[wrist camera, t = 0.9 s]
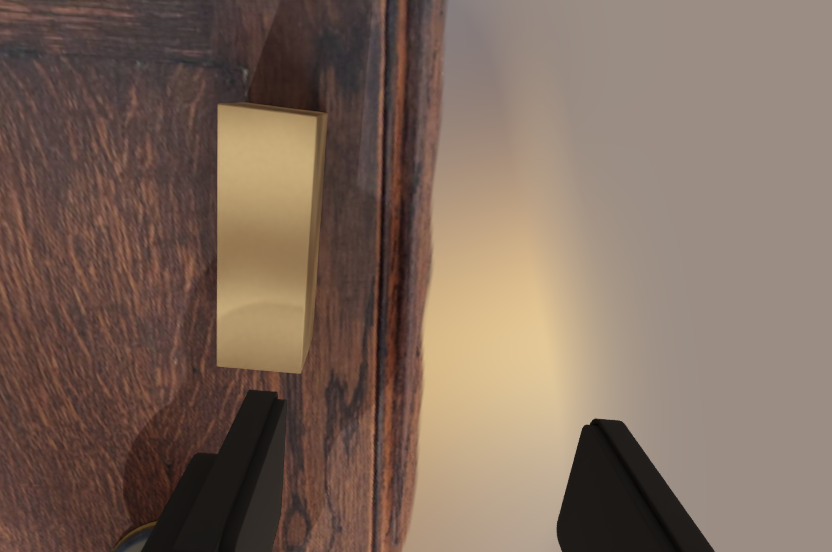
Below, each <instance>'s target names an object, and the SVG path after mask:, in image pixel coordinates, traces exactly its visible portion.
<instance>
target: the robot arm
mask: <svg viewBox="0 0 832 552" xmlns="http://www.w3.org/2000/svg"><path fill="white" fill-rule="evenodd" d="M286 413H287V401H286V400H281V399H278V393H277V392H271V391H259V390H249V391H248V393H247V395H246V397H245V399H244V401H243V403H242V405H241V407H240V409H239V412H238V414H237V416H236V418H235V420H234V422H233V424H232V426H231V428H230V430H229V432H228V434H227V436H226V439H225V441H224V443H223V445H222V447H221V449H220V451H219V453H218V454H209V453H197V454H195V455H194V456H193V458H192V459H191V461H190V463H189V464H188V466H187V468H186V470H185V472H184V473H183V475H182V477H181V479H180V481H179V483H178V484H177V486H176V488H175V490H174V492H173V494H172V495H171V497H170V499H169V501H168V503H167V504H166V506H165V508H164V510H163V512H162V514H161V515H160V517H159V519H158V521H157V523H156V525H155V526H154V528H153V530H152V532H151V534H150V536H149V537H148V539H147V541H146V543H145V545H144V546H143V548H142V550H141V552H271V551H272V547H273V543H274V539H275V536H276V532H277V528H278V524H279V520H280V514H281V506H282V489H283V470H284V451H285V432H286ZM557 538H558V542H559V544H560V547H561V550H562V552H714V550H713V548H712V547H711V546H710V544H709V543H708V541H707V540H706V538H705V537H704V536H703V534H702V533H701V531H700V530H699V529H698V527H697V526H696V524H695V523H694V522H693V520H692V519H691V517H690V516H689V514H688V513H687V512H686V510H685V509H684V507H683V506H682V505H681V503H680V502H679V500H678V499H677V497H676V496H675V495H674V493H673V492H672V490H671V489H670V488H669V486H668V485H667V483H666V482H665V480H664V479H663V478H662V476H661V475H660V473H659V472H658V471H657V469H656V468H655V466H654V465H653V463H652V462H651V461H650V459H649V458H648V456H647V455H646V454H645V452H644V451H643V449H642V448H641V447H640V445H639V444H638V442H637V441H636V440H635V438H634V437H633V435H632V434H631V433H630V431H629V430H628V428H627V427H626V425H625V424H624V423H623V422H622V421H618V420H606V419H594V420H592V422H591V423H590V425H585V426H584V427H583V428H582V431H581V435H580V438H579V443H578V446H577V450H576V454H575V457H574V462H573V465H572V469H571V473H570V476H569V480H568V484H567V488H566V491H565V495H564V499H563V502H562V507H561V510H560V514H559V517H558V521H557Z"/></svg>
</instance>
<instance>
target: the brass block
mask: <svg viewBox="0 0 832 552" xmlns="http://www.w3.org/2000/svg"><path fill="white" fill-rule="evenodd" d="M327 121H328V113H325V112H317V111H309V110H301V109H293V108H286V107H278V106H270V105H262V104H254V103H247V102H240V103H222V104H218V150H217V366H218V367H229V368H241V369H252V370H264V371H275V372H287V373H298V374H300V373H301V372H302V369H303V366H304V363H305V360H306V357H307V354H308V351H309V347H310V344H311V341H312V338H313V327H314V312H315V297H316V283H317V268H318V253H319V239H320V224H321V209H322V195H323V180H324V165H325V151H326V136H327Z"/></svg>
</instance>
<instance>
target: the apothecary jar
mask: <svg viewBox="0 0 832 552" xmlns="http://www.w3.org/2000/svg"><path fill="white" fill-rule="evenodd" d="M156 523H157V521H155V522H151V523H148V524H145V525H143V526H141V527H139V528H137V529H135V530H133V531H131V532H130V533H129V534H127V535H126V536H125V537H124V538H123V539H122V540H121V541H120V542H119V543H118V544H117V545H116V547H115V548H114V550H113V551H112V552H141V550H142V548H143V546H144V545H145V543H146V541H147V539H148V537H149V536H150V534H151V532H152V530H153V528H154V526H155V525H156Z"/></svg>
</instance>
